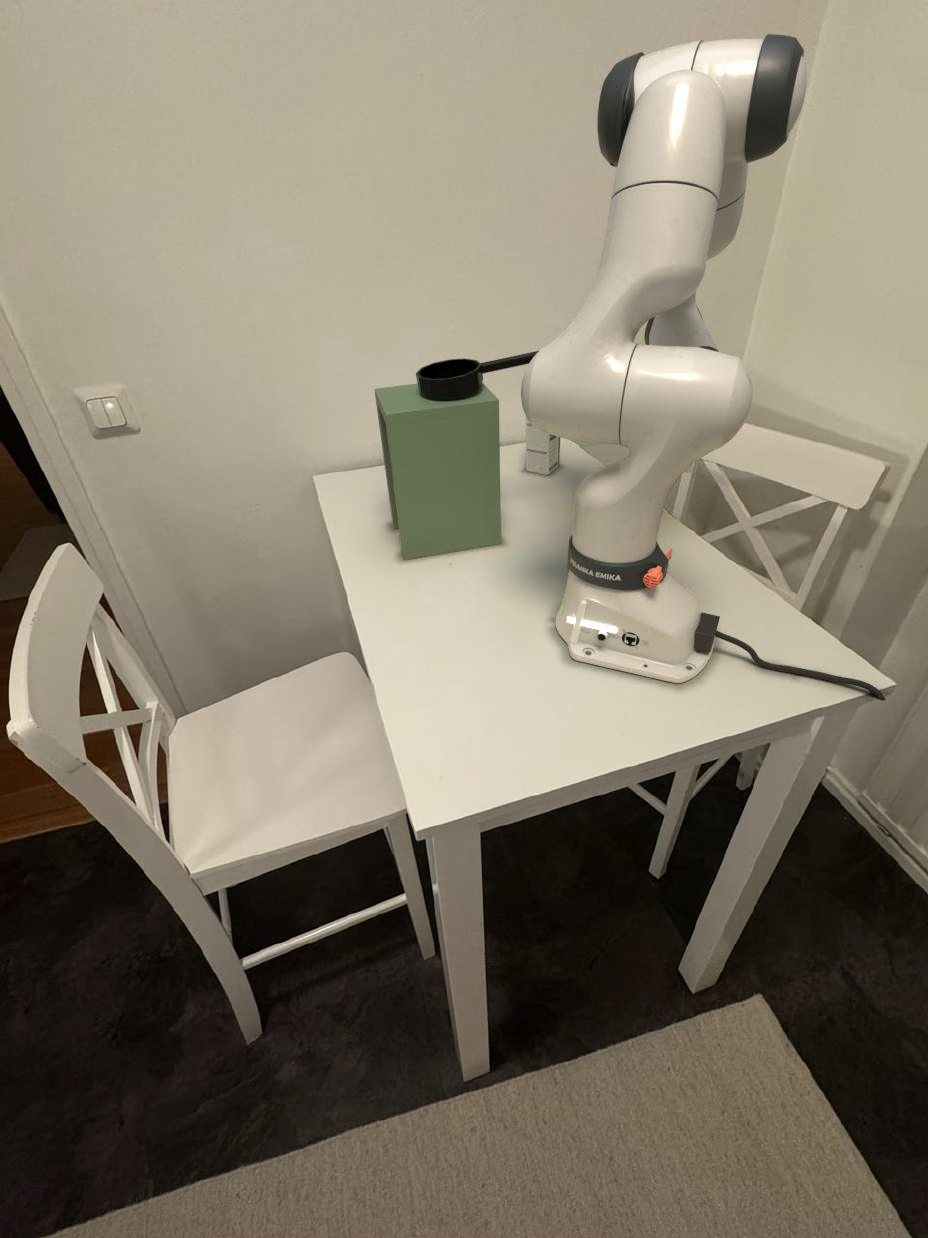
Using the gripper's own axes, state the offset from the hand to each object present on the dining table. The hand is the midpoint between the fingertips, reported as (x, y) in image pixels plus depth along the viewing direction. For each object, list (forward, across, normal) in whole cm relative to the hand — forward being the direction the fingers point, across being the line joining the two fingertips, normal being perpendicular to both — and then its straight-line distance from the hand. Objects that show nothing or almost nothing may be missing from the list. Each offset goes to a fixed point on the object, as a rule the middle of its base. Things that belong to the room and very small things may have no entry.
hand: (554, 348), depth 99 cm
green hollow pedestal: (+3, 0, +37) cm, 37 cm away
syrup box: (-21, -22, +24) cm, 38 cm away
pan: (+7, 0, +8) cm, 10 cm away
